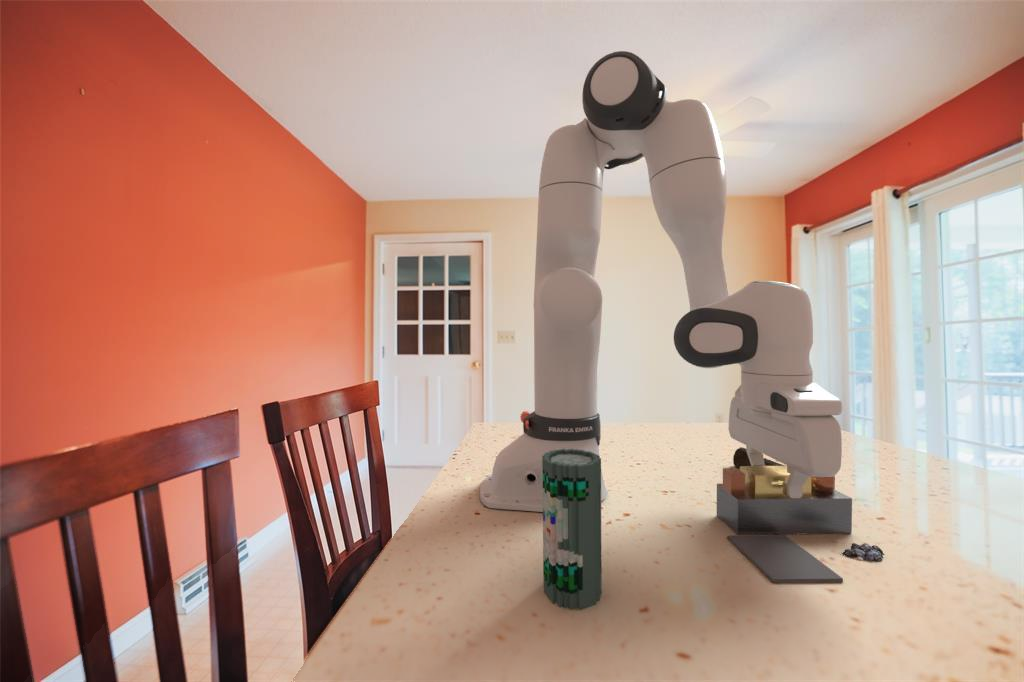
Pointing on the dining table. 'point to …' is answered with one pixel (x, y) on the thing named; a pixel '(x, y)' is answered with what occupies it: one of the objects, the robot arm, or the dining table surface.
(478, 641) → the dining table surface
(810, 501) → the plane body
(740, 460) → the hand tool
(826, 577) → the mat
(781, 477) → the gold metallic block
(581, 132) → the robot arm
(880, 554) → the blueberries
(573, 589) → the can
